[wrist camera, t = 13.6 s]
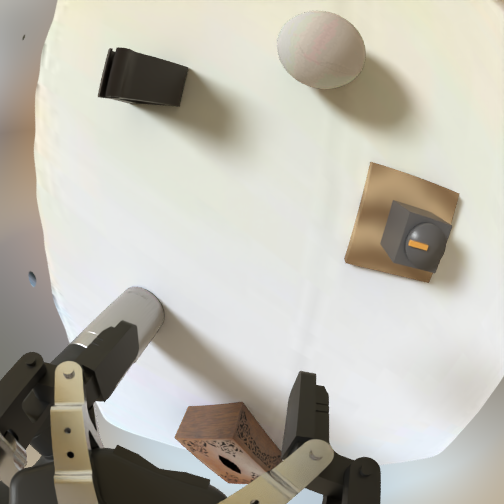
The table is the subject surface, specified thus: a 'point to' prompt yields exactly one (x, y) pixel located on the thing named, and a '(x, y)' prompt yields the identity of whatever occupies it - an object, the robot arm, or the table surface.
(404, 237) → the knob
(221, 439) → the tissue box cover
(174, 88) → the phone stand
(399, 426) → the table surface
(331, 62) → the eye model
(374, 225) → the base plate
